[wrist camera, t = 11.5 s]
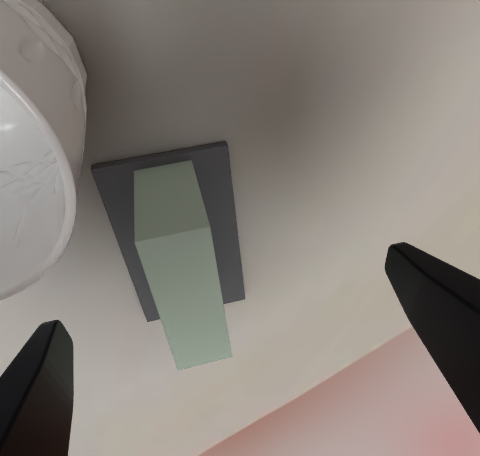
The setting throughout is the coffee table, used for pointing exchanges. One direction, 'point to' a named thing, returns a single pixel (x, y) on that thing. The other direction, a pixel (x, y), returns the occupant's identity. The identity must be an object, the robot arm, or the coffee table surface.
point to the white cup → (37, 141)
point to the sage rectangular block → (180, 262)
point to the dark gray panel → (215, 201)
